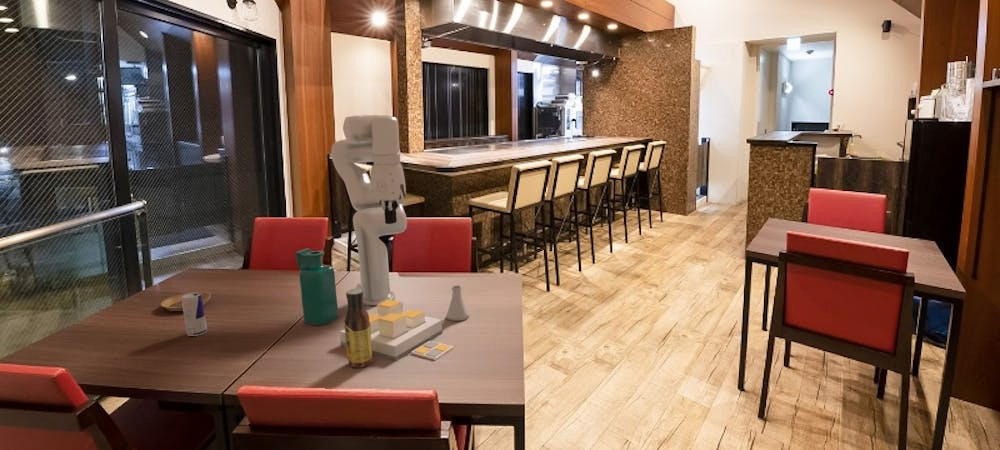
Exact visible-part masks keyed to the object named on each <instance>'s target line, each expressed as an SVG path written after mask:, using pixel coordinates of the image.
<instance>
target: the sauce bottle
mask: <svg viewBox="0 0 1000 450" xmlns="http://www.w3.org/2000/svg"><path fill="white" fill-rule="evenodd" d="M345 295H346V299H347V310H346V315H345V318H344V321H343V323H344V324H343V325H344V329H345V337H346V346H345V348H346V355H347V356H346V357H347V361H348V365H349V366H350V367H352V368H364V367H368V366H370V364H372V362H373V354H372V343H371V331H370V323H369V315H368V314H369V312H368V311H367V310H366V309H365V307H364V306H365V305H364V304H363V290H362V289H355V288H350V289H349V290H347V291H346V292H345Z"/></svg>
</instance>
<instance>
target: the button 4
mask: <svg viewBox="0 0 1000 450" xmlns="http://www.w3.org/2000/svg"><path fill="white" fill-rule="evenodd" d="M400 315H403V316H405V317H406V327H407V328H411V329H414V328H416V327H418V326H420V325H422V324H423V323H425V316H426V315H425V312H423V311H421V310H416V309H412V308H410V309H408V310H406V311H404V313H402V314H400Z"/></svg>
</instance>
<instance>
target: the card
mask: <svg viewBox="0 0 1000 450" xmlns="http://www.w3.org/2000/svg"><path fill="white" fill-rule="evenodd" d="M453 349H454V346H453V345H449V344H444V343H441V342H437V341H433V340H430V341H428V342H426V343H424V344H423V345H421V346H419V347H418V348H416V349H414V350H413V351H411V352H410V353H411V355H414V356H418V357H422V358H425V359H428V360H432V361H437V360H439V359H440V358H441V357H443V356H444V355H446V354H447V353H449V352H450V351H452V350H453Z"/></svg>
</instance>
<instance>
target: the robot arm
mask: <svg viewBox="0 0 1000 450" xmlns="http://www.w3.org/2000/svg"><path fill="white" fill-rule="evenodd" d="M342 131H343V135H344V137H345V139H340V140H337V141H335V142H333V144H332V145H331V150H330V153H331V160H332V163H333V165H334V168H335V170H336V172H337V174H338V175H339V176H340V178H341V180H342V181H343V182H344V184H345V187H346V191H347V193H348V197H349V200H350V201H349V202H350V203H351V206H352V208H353V209H354V210H355V211H356V212H355V213H354V215H353V217H352V223H353V229H354V233H355V237H356V243H357V250H358V251H357V252H358V263H359V265H358V266H359V276H360V283H357V286H355V287H354V289H362V290H363V304H364V306H365V305H366V306H377V305H378V304H380V303H382V302H384V301H386V300H388V299H391V300H395V298H396V293H395V292H393V291H391V287H390V286H391V285H390V269H389V257H388V256H389V253H388V248H387V245H386V244H385V243H384V242H383V241H382V240H381V239H380V237H383V236H388V235H389V236H391V235H397V234H401V233H403V232H405V230H406V229H407V227H408V220H407V219H408V217H407V215H406V212H405V209H404V206H403V205H405V203H406V200H405V199H406V195H407V192H406V191H407V188H406V187H407V186H406V178H405V172H404V168H403V165H402V164H401V149H400V133H399V131H400V130H399V121H398V119H397V117H394V116H392V115H386V114H385V115H384V114H383V115H377V114H374V115H373V114H372V115H371V114H370V115H369V114H368V115H367V114H359V115H357V114H356V115H352V116H346V117H345V119H344V121H343V125H342ZM370 162H371V163H373V165H371V170H370V176H369V174H368V172H367V171H365V170H364V169H363V168H362V167H360V166H359V165H357V164H359V163H370Z"/></svg>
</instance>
